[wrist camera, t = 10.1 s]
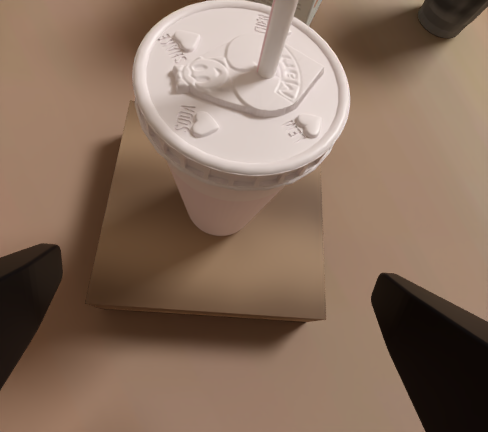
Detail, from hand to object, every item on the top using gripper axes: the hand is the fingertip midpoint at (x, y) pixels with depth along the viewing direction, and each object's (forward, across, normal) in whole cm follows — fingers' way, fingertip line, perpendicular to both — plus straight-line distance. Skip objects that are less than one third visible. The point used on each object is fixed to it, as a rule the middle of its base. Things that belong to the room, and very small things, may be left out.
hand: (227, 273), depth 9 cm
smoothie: (+9, 0, +2) cm, 10 cm away
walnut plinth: (+12, 0, +4) cm, 12 cm away
